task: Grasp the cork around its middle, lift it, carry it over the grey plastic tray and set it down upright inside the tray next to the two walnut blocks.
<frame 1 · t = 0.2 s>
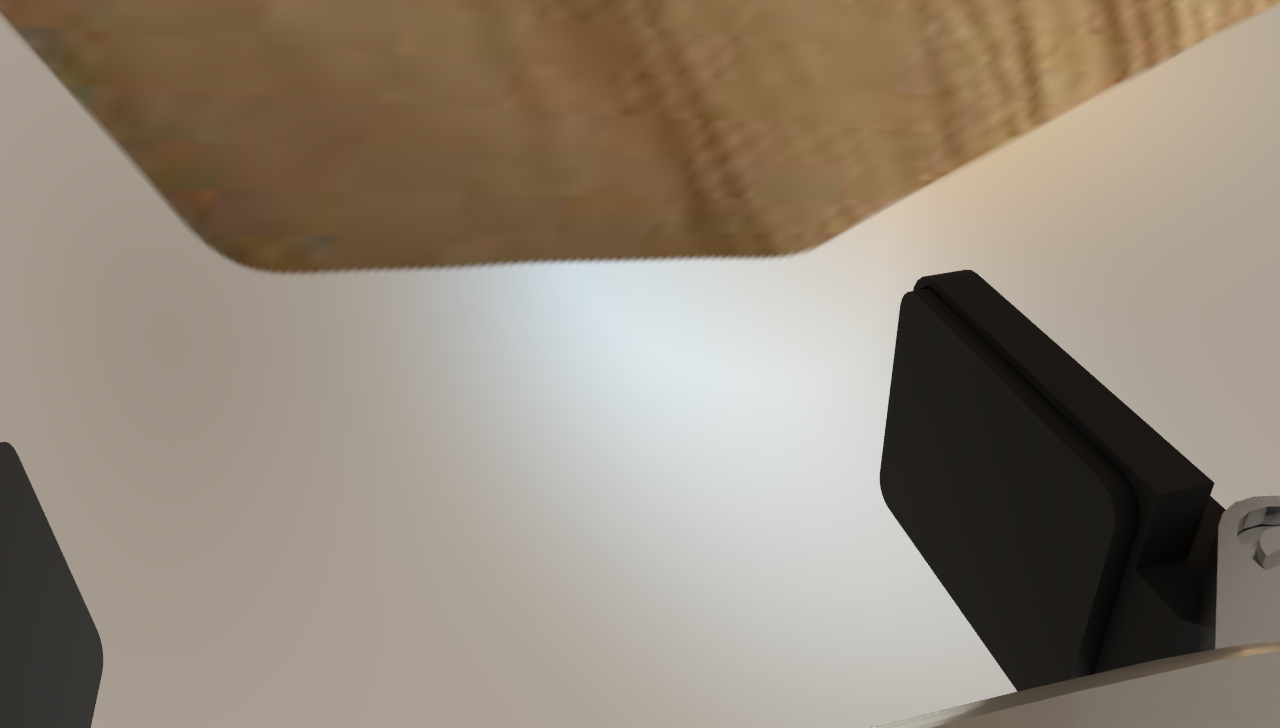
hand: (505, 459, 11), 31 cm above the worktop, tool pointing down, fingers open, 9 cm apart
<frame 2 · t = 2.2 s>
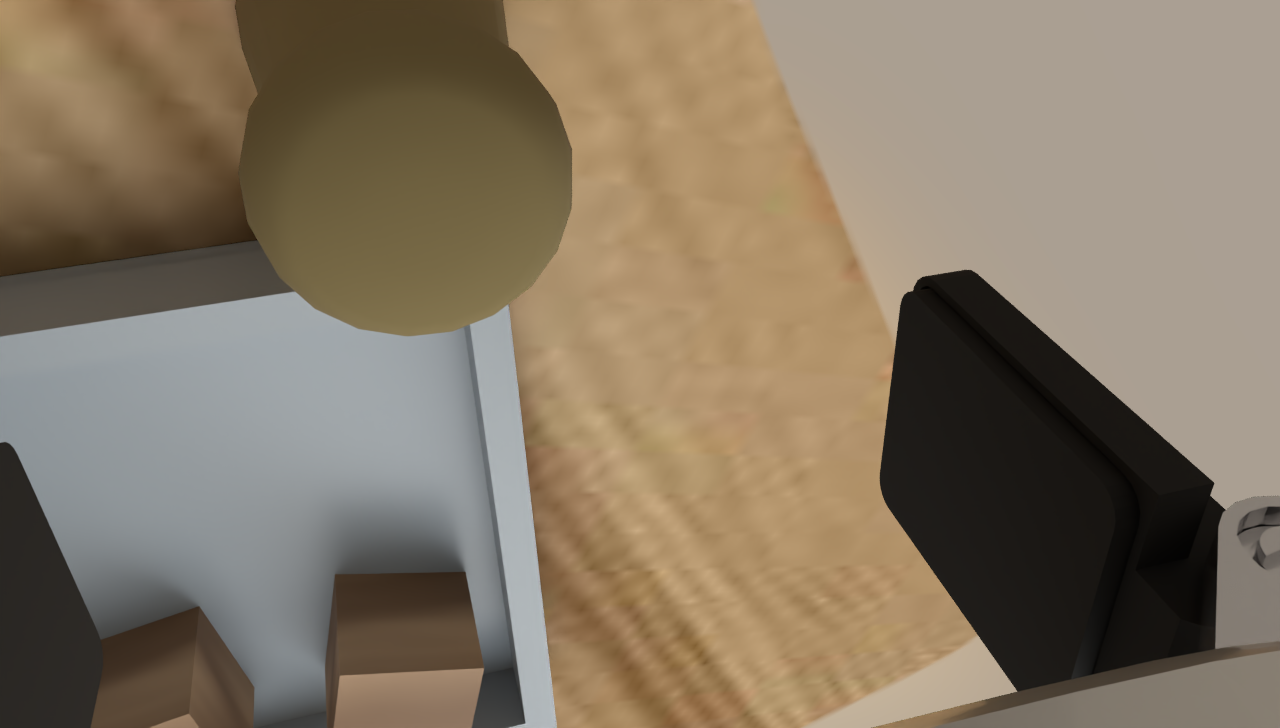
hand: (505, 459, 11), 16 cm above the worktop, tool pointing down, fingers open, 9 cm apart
walnut block b: (394, 619, 34), point 1 cm above the worktop, touching tray
cork: (374, 20, 24), on the worktop
walnut block a: (163, 670, 32), point 1 cm above the worktop, touching tray
tray: (248, 525, 31), on the worktop
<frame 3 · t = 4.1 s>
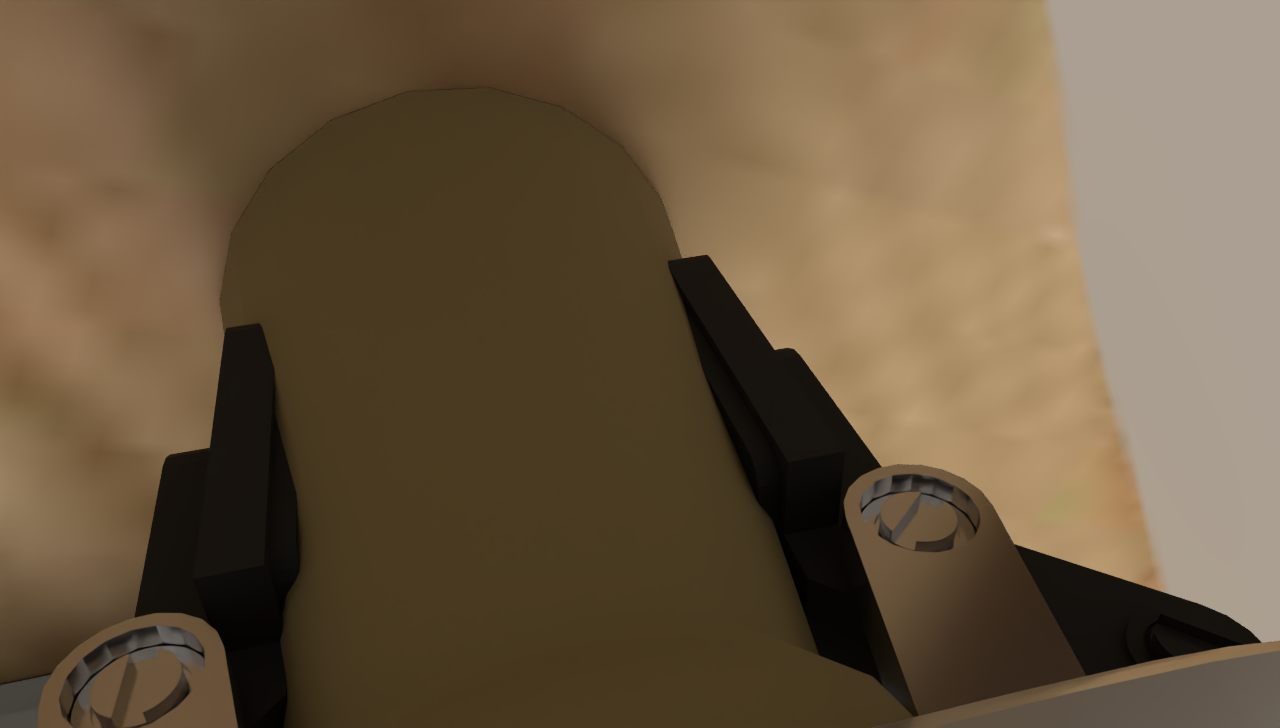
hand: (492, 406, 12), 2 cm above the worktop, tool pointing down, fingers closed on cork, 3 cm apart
cork: (461, 302, 14), on the worktop, touching gripper
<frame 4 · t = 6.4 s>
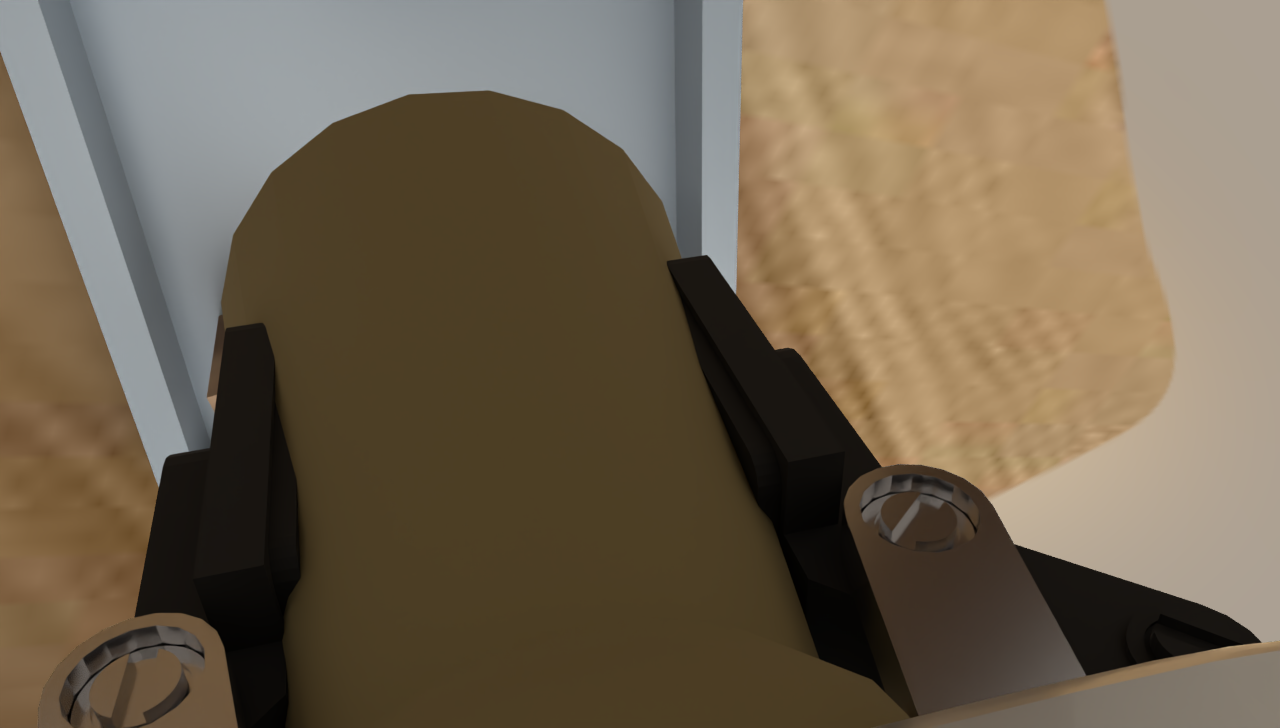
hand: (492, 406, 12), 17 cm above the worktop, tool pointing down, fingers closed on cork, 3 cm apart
cork: (462, 304, 14), point 15 cm above the worktop, touching gripper
walnut block a: (319, 352, 30), point 1 cm above the worktop, touching tray
tray: (419, 179, 28), on the worktop
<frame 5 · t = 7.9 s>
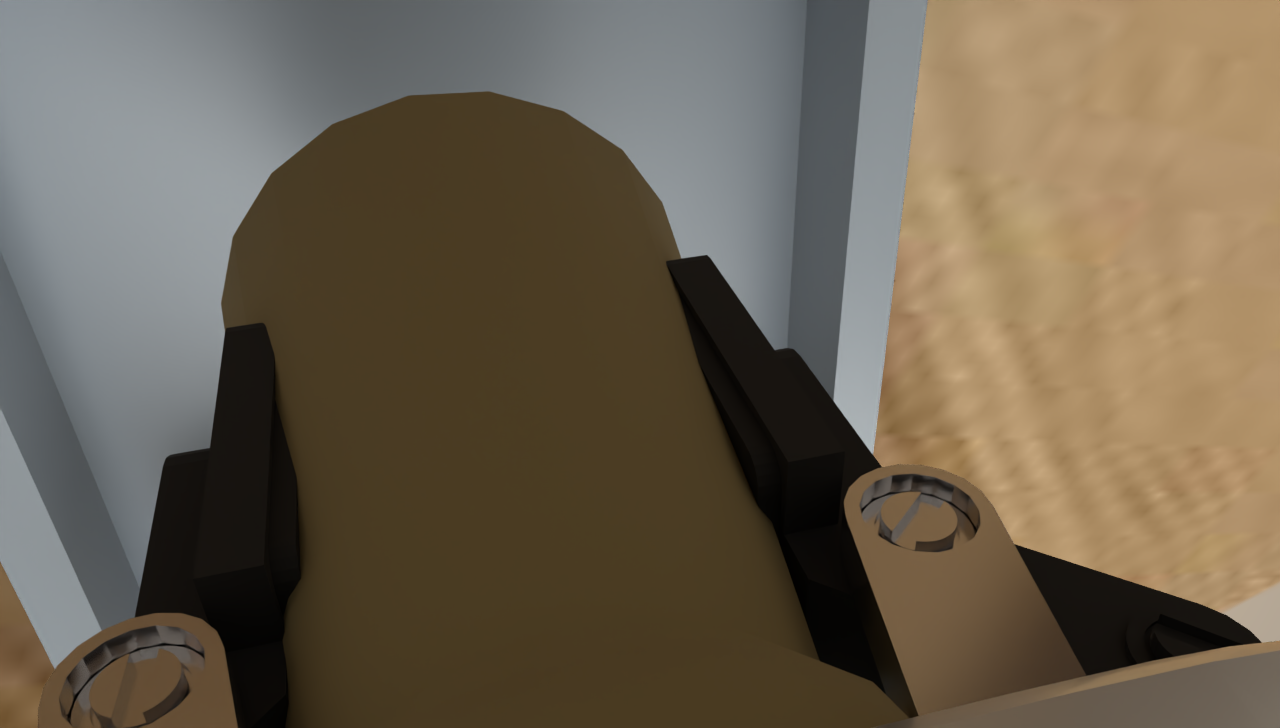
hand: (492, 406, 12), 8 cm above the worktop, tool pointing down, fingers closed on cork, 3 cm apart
cork: (462, 305, 14), point 6 cm above the worktop, touching gripper
tray: (449, 332, 21), on the worktop
when the fingers open (5 cm above the worktop, at t = 8.9 s): cork drops 2 cm, resting on tray.
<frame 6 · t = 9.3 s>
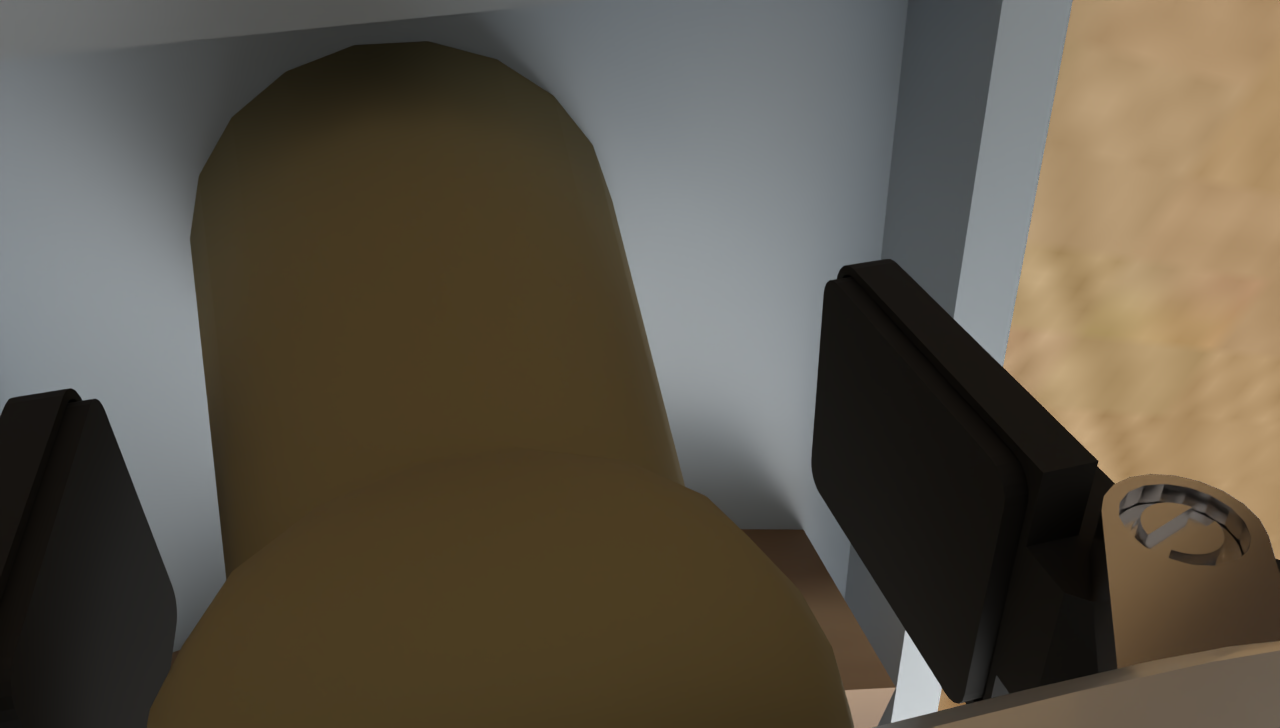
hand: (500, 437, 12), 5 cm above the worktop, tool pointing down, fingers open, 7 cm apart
walnut block b: (684, 606, 21), point 1 cm above the worktop, touching tray
cork: (412, 242, 16), resting on tray
tray: (479, 441, 18), on the worktop
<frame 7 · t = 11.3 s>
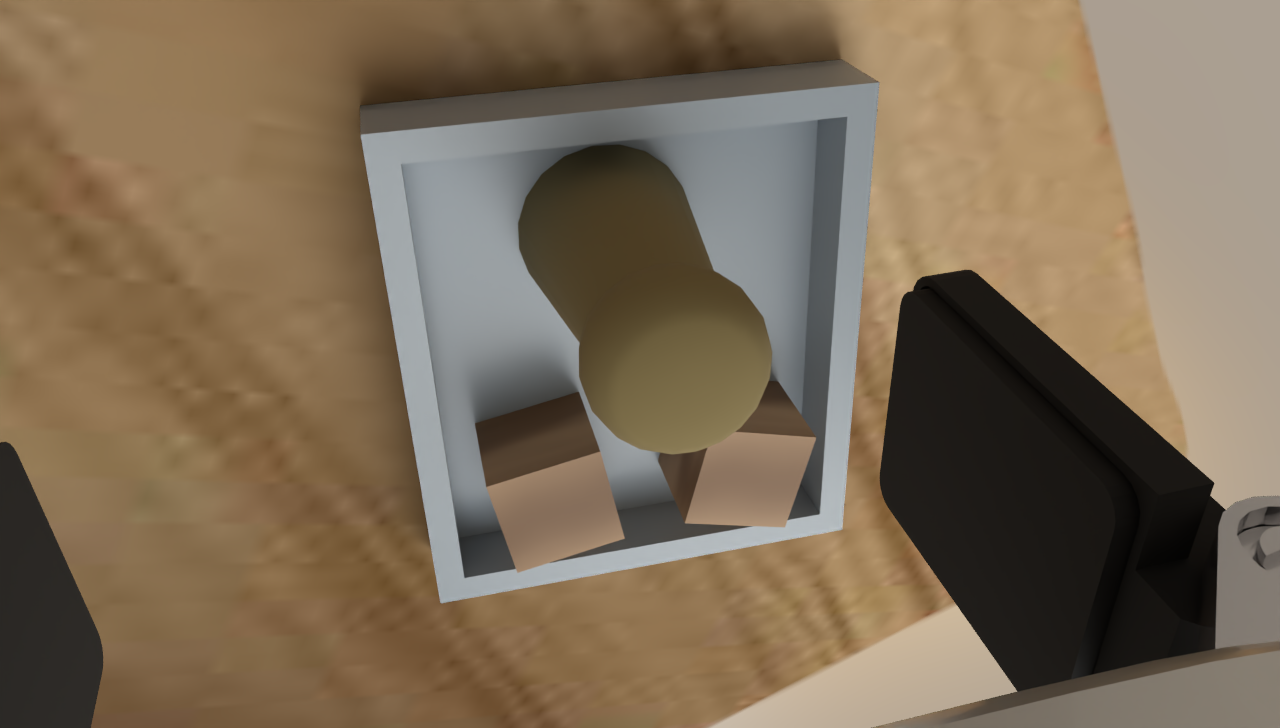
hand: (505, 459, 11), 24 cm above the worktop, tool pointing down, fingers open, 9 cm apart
walnut block b: (717, 421, 41), point 1 cm above the worktop, touching tray
cork: (604, 227, 36), resting on tray
walnut block a: (540, 449, 40), point 1 cm above the worktop, touching tray
tray: (622, 325, 39), on the worktop
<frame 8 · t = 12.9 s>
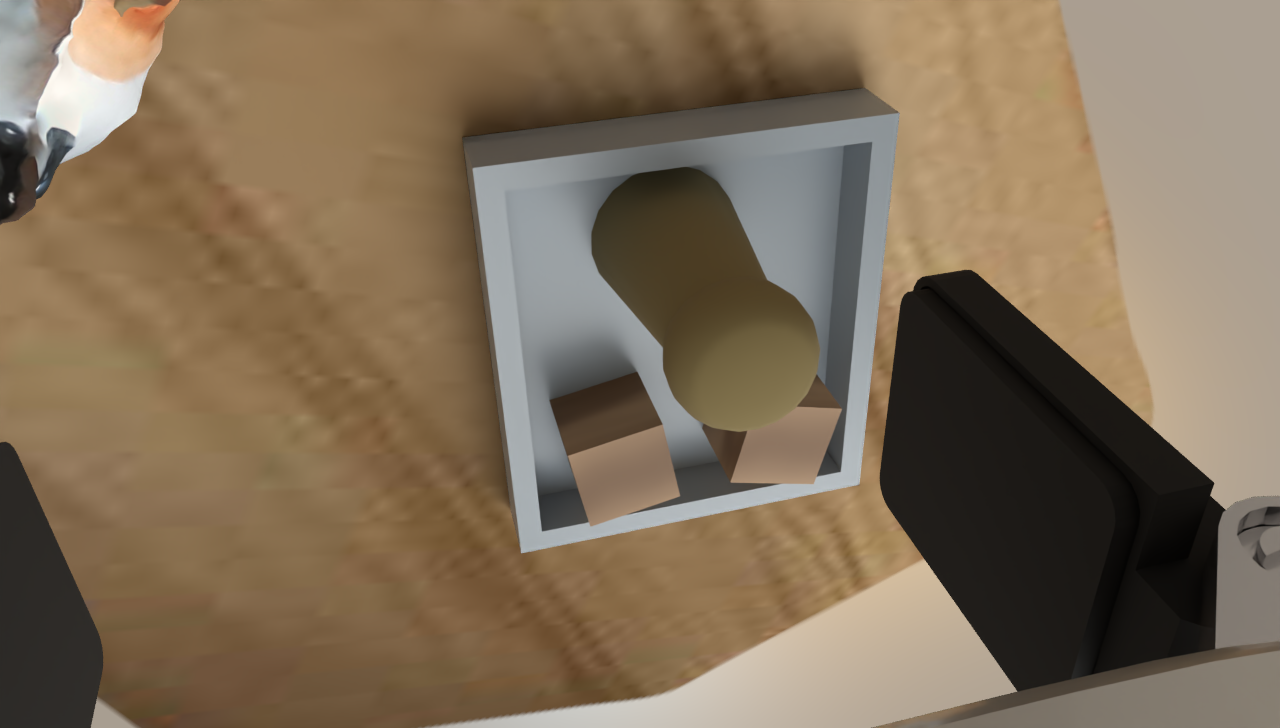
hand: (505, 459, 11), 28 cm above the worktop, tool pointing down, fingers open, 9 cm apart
walnut block b: (753, 394, 48), point 1 cm above the worktop, touching tray
cork: (662, 233, 42), resting on tray
walnut block a: (603, 421, 46), point 1 cm above the worktop, touching tray
tray: (674, 314, 45), on the worktop
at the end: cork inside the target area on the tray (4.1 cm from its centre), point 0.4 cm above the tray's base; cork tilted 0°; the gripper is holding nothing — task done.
